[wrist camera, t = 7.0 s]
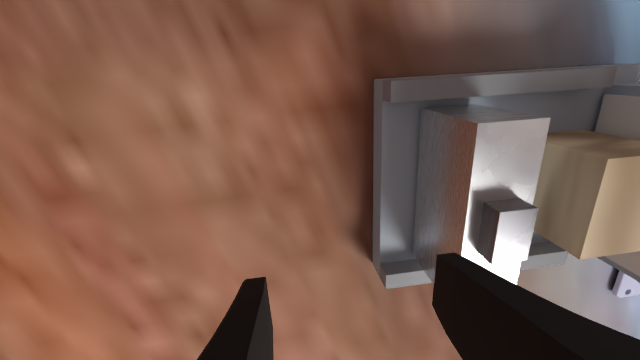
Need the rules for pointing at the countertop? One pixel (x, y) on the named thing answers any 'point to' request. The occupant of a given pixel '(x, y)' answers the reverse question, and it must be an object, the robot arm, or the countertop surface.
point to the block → (589, 193)
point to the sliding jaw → (477, 186)
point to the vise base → (499, 92)
